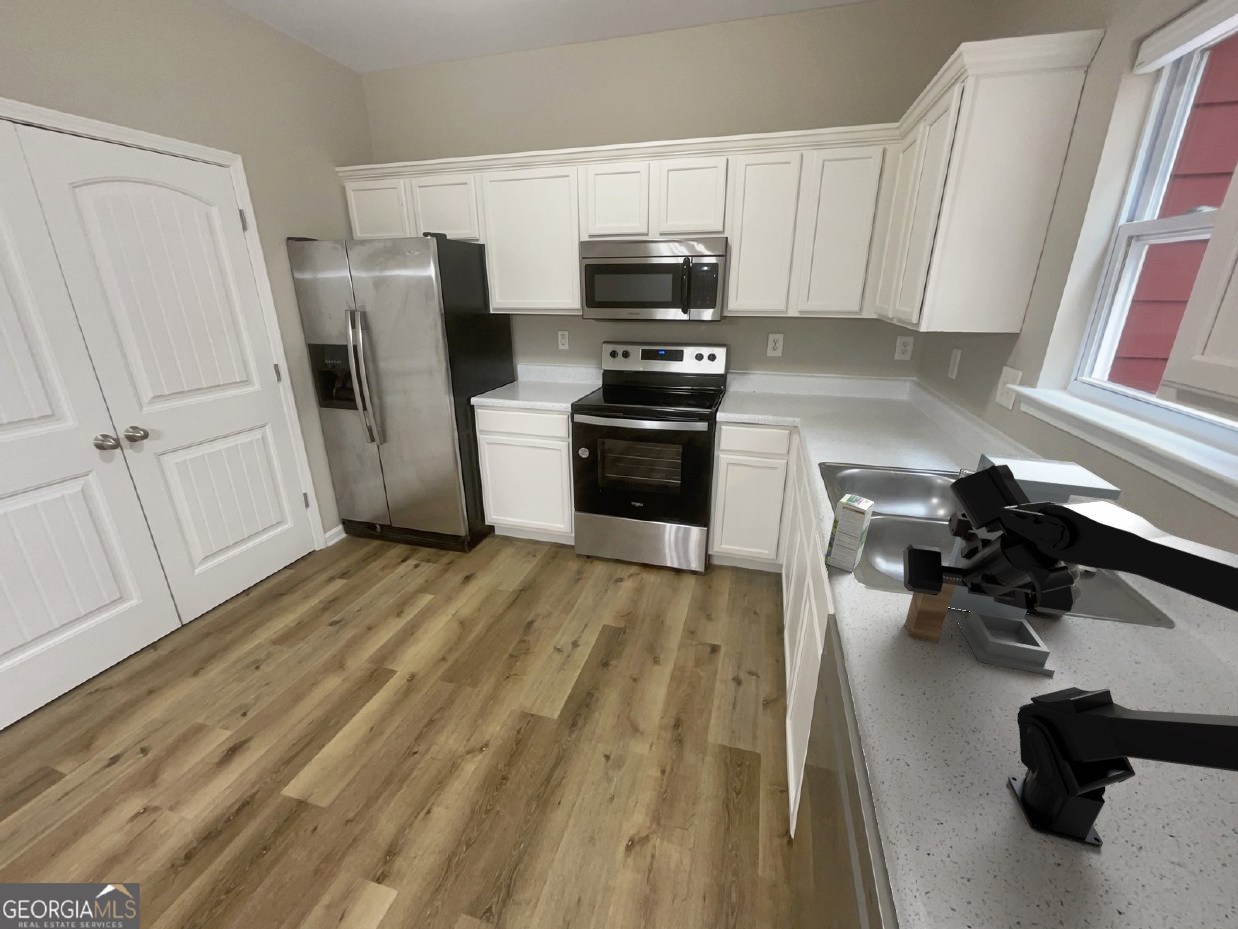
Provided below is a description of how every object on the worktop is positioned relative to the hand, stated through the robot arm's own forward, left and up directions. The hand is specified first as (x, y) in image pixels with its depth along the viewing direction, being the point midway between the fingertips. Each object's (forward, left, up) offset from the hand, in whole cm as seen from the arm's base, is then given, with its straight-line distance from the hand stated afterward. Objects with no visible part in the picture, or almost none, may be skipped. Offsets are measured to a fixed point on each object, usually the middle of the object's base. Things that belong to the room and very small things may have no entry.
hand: (958, 592), depth 74 cm
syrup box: (+27, +10, -13) cm, 32 cm away
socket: (+7, -12, -13) cm, 19 cm away
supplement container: (+23, -22, -13) cm, 35 cm away
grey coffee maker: (+12, -12, -13) cm, 21 cm away
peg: (+7, 0, -13) cm, 15 cm away
